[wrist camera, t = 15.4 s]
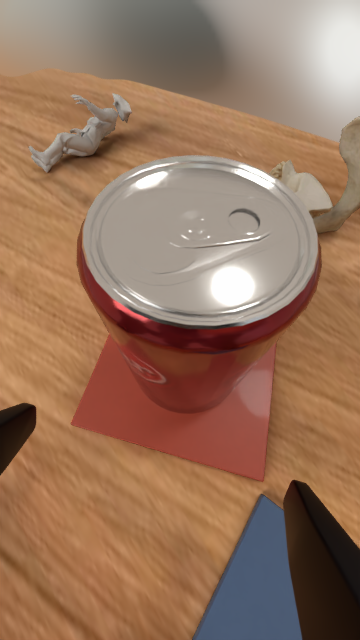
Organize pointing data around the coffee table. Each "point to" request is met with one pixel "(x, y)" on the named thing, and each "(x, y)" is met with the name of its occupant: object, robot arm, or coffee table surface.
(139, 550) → the coffee table surface
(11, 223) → the coffee table surface
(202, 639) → the slate-blue mat
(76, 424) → the terracotta mat
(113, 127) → the soldier figure
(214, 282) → the soda can
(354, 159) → the bone
